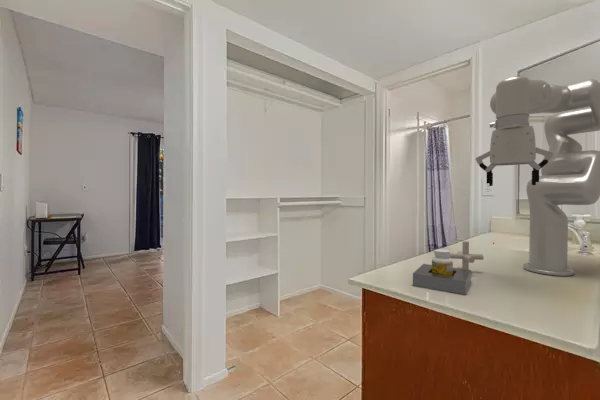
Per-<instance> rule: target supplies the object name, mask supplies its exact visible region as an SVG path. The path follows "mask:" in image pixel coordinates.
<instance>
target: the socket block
mask: <svg viewBox="0 0 600 400" xmlns="http://www.w3.org/2000/svg"><path fill="white" fill-rule="evenodd" d="M471 272H472V270H471V269H469V270H466V269H462V268H459V267H453V276H448V275H441V274H435V273H432V264H428V263H423V264H421V265H420V267H419V266H418V268H417V269H416V270H414V271H413V273H412V286H413V287H419V288H424V289H430V290H436V291H441V292H446V293H447V292H448V293H452V294H457V295H463V296H466V295H467V292H468V290H469V288H470V284H471V280H472V277H471V276H472V273H471Z"/></svg>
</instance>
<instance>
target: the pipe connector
mask: <svg viewBox="0 0 600 400" xmlns="http://www.w3.org/2000/svg"><path fill="white" fill-rule="evenodd" d="M469 251H470V241H467V240H463V241H462V250H459V251H457V253H455V252H450V256H449V258H451V259H452V260H453V259H454V260H457V259H458V260H462V264H461V267H462V268H461V269H466V270H470V269H469V268H470V267H469V266H470V265H469V264H473V263H475V261H476V260H480V261H481V260H484V255H483V253H469Z"/></svg>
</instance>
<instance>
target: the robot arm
mask: <svg viewBox="0 0 600 400" xmlns="http://www.w3.org/2000/svg"><path fill="white" fill-rule="evenodd" d="M495 89H496V90H495V92H494V93H493V94H492V96H491V98H490V100H489V101H490V102H489V107H490V109H491V111H492V113H494V114H495V120H494V121H492V122H490V123H489V128H492V129H494V130H492V132H491V137H490V143H489V144H490V147H489V151H487V152H485V153H483V154H481V155H479V156H477V157H476V158H475V161H476V163H477V164H478V166H479V168H480V169H482V170H483V171H484V172H486V184H488V186H489V187H493V184H494V182H493V181H494V180H493V179H494V177H493V176H494V174H493V173H494V172H493V169H494V168H495V167H499V166H501V167H502V166H513V165H514V166H516V165H517V166H518V165H529V166H530V167H531V168H532V170H531V179H530V180H529V181H528V182H527V183H526V190H525V191H526V194H527V195H526V196H527V200H528V205H529V206H528V207H529V248H528V249H529V252H528V254H529V257H528V262H526V263H523V266H522V267H523V269H525V270H527V271H529V272H532V273H535V274H542V275H546V276H547V275H549V276H557V277H559V276H560V277H568V276H569V277H570V276H573V275H574V274H575V271H574V269H572V268H569V267H568V250H569V249H568V246H569V245H568V242H569V240H568V239H569V238H568V237H569V235H568V234H569V218H568V216H567V215H566V213H565V212H564V211H563V210H562V208H561V207H560V206H562V205H566V206H567V205H568V206H570V205H571V206H589V205H593V204H596V203H597V202H598V200H599V199H600V150H594V149H593V150H583V147H582V145H581V143H580V142H578V140H576V139H575V138H572V137H571V136H570V135H576V134H577V135H578V134H584V133H592V132H599V131H600V81H598V80H597V79H593V78H590V79H589V78H588V79H586V80H585V79H584V80H581V81H578V82H573V83H569V84H565V85H558V84H551V83H550V84H549V83H548V82H546V81H545V80H542V79H529V77H526V76H522V75H521V76H512V77H509V78H506V79H503V80H501V81H499V82H498V83H497V84H496V87H495ZM541 113H542V114H543V113H544V114H545V113H547V114H548V113H549V114H552V115H550V116H548V117H547V119H546V120H545V122H544V127H543V128H544V134H545V138H546V139H545V140H546V141H547V144H548V146H549V147H548V148H549V149H548V150H545V149H542V148H539V147H536V136H535V129H534V126H532V125H530V115H533V114H541ZM536 154H538V155H541V156H544V158H543V159H542V161H540V162H539V163H537V162H536V157H537V155H536ZM486 158H489V163H490V164H489V165H488V166H487V165H485V163H484V161H483V160H485V159H486ZM540 173H541V175H540Z"/></svg>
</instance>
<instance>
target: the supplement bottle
mask: <svg viewBox="0 0 600 400" xmlns="http://www.w3.org/2000/svg"><path fill="white" fill-rule="evenodd" d="M450 253H451V251H450V250H449V249H441V248H439V249H434V250H433V255H434V256H433V257H432V258H431V265H432V273H435V274H441V275H448V276H453V268H454V265H453V264H454V262H453V259H451V258H449V256H450Z"/></svg>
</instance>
